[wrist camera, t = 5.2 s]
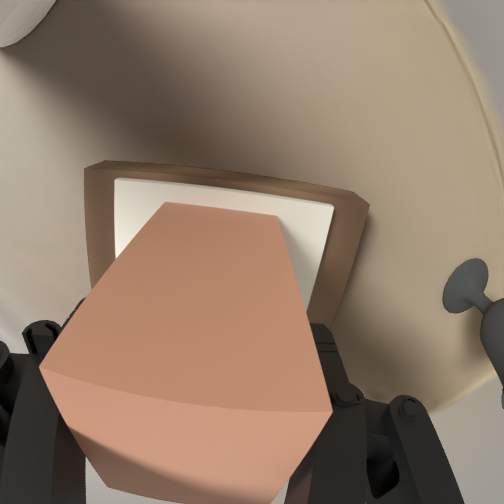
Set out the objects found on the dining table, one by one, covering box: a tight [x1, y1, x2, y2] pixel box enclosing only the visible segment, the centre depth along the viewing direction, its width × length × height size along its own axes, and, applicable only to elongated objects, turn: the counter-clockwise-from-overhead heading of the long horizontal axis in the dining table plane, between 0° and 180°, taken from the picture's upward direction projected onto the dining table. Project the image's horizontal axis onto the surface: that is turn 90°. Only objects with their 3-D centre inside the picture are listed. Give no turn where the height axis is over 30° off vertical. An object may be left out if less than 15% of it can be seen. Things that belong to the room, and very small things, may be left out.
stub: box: [39, 178, 334, 504], centre depth 10 cm, size 10×8×10 cm
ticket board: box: [84, 161, 370, 330], centre depth 17 cm, size 14×22×6 cm, turn 171°
